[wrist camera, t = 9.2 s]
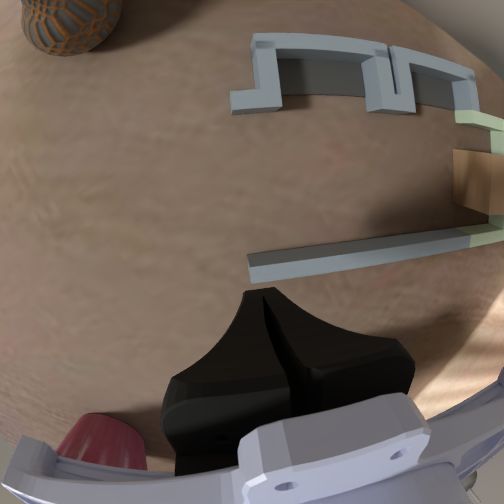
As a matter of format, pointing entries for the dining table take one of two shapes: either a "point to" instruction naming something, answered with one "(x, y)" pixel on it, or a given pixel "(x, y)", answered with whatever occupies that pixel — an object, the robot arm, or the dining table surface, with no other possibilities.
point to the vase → (68, 24)
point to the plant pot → (104, 443)
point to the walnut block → (478, 181)
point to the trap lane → (377, 100)
